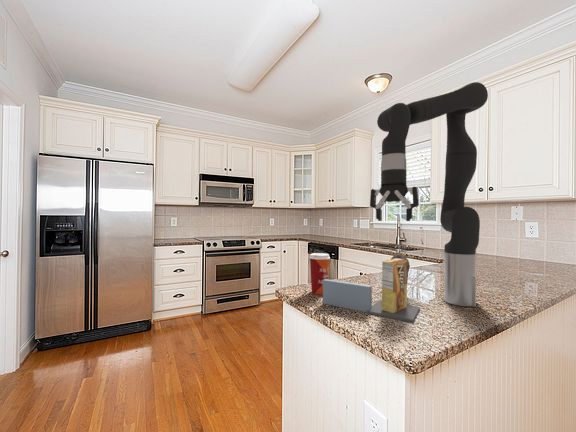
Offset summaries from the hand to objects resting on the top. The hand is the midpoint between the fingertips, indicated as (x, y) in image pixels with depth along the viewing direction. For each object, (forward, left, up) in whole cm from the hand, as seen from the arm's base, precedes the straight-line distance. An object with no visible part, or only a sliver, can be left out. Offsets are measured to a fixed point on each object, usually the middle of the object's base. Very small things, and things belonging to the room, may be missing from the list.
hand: (393, 221), depth 86 cm
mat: (0, +1, -28) cm, 28 cm away
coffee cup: (+29, -5, -29) cm, 41 cm away
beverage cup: (+2, -17, -29) cm, 33 cm away
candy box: (-1, +1, -28) cm, 28 cm away
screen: (+14, +5, -28) cm, 32 cm away
